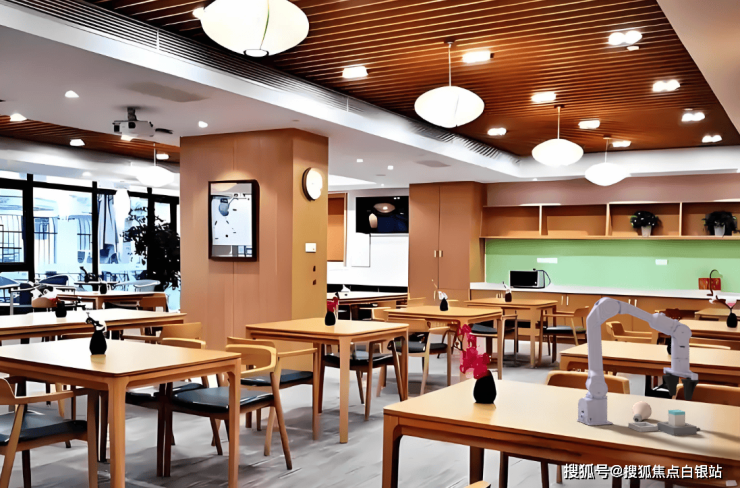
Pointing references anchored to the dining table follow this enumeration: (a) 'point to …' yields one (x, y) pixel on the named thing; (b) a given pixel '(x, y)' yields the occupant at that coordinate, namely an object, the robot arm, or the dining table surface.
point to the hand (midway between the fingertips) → (680, 397)
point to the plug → (676, 417)
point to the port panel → (677, 429)
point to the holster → (643, 426)
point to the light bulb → (641, 411)
